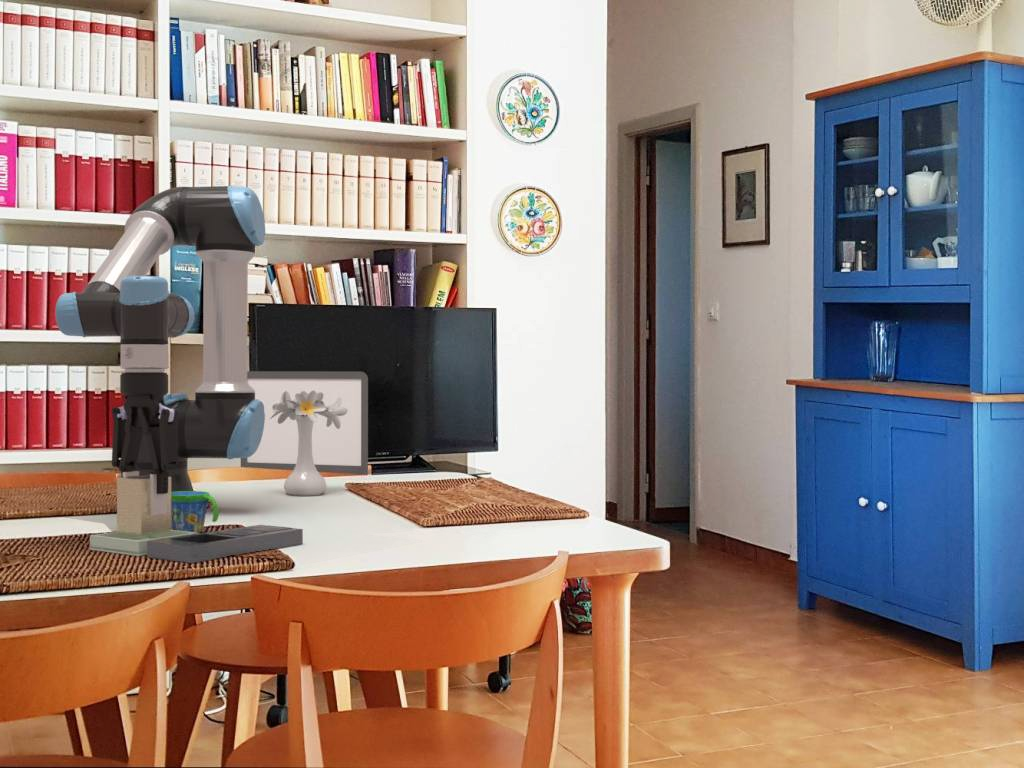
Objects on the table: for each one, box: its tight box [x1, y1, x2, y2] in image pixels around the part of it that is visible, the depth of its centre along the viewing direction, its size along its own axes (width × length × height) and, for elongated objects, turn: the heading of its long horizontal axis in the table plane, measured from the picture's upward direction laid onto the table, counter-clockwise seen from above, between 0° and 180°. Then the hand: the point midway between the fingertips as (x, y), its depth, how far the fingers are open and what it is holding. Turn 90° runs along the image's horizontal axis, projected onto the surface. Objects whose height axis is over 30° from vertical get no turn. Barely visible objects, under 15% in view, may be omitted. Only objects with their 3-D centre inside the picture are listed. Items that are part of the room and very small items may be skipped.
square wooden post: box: [116, 475, 171, 536], centre depth 192 cm, size 6×6×9 cm
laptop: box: [240, 370, 369, 476], centre depth 296 cm, size 38×29×29 cm
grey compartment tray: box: [146, 524, 304, 564], centre depth 190 cm, size 10×24×3 cm, turn 146°
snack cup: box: [171, 490, 220, 533], centre depth 208 cm, size 11×8×7 cm
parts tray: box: [89, 530, 198, 557], centre depth 192 cm, size 12×12×2 cm
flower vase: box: [269, 390, 348, 497], centre depth 264 cm, size 13×18×25 cm
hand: (144, 512), depth 192 cm, fingers open, 6 cm apart
